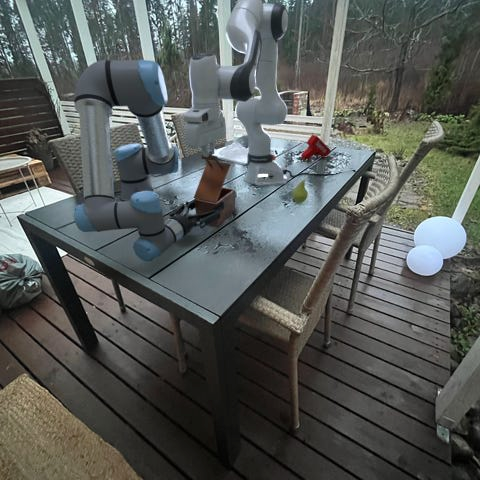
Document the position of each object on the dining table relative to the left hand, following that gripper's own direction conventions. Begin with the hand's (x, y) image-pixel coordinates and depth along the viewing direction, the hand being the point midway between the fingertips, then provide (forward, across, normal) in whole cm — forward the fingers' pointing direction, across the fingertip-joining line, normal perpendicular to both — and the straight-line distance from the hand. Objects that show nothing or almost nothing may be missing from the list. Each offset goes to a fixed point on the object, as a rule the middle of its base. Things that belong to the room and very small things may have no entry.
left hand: (211, 202), depth 105 cm
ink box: (+33, -56, -7) cm, 65 cm away
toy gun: (+100, +17, -7) cm, 102 cm away
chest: (+3, 0, -7) cm, 8 cm away
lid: (+2, 0, +8) cm, 8 cm away
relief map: (+85, -33, -7) cm, 91 cm away
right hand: (+1, 0, +18) cm, 18 cm away
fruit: (+31, +27, -7) cm, 41 cm away
